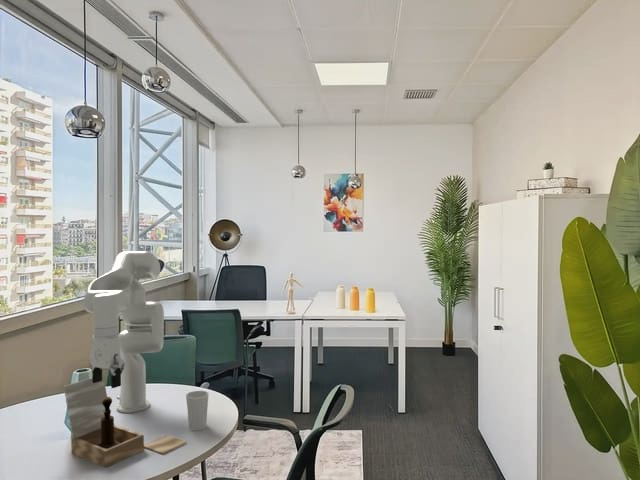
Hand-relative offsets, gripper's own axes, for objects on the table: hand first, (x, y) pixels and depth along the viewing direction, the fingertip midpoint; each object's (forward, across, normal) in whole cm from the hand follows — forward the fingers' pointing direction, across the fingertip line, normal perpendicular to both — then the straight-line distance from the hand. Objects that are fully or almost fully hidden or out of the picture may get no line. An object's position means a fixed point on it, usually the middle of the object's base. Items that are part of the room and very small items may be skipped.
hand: (106, 384), depth 166 cm
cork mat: (+22, +12, +13) cm, 28 cm away
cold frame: (+22, -2, 0) cm, 22 cm away
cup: (+22, +10, +30) cm, 39 cm away
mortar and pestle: (+22, 0, 0) cm, 23 cm away
